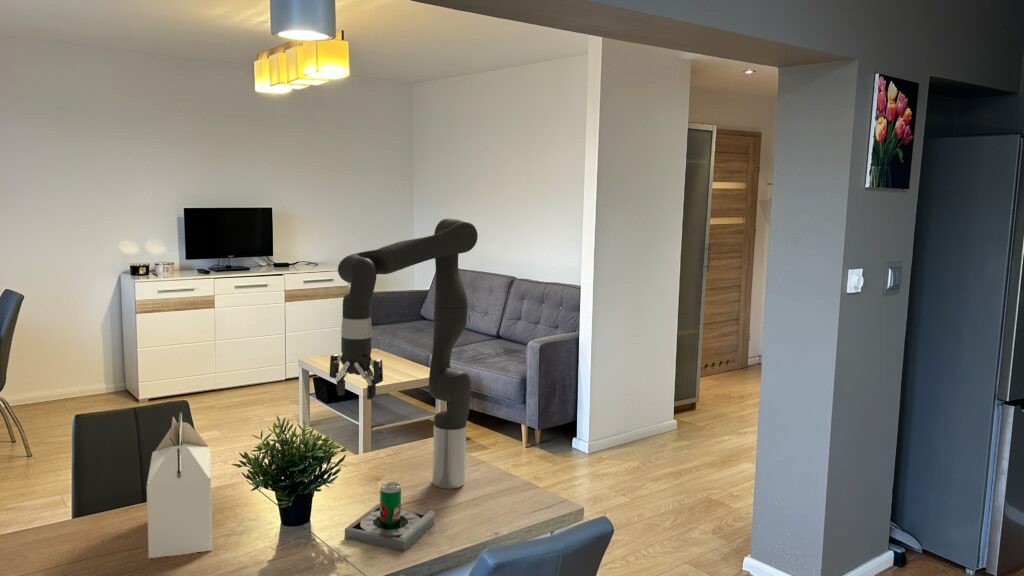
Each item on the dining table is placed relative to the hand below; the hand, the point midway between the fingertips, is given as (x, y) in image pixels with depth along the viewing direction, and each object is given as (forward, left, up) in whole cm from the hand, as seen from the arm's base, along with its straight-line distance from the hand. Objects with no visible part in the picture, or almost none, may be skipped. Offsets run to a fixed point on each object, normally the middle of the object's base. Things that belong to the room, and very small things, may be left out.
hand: (355, 396), depth 201 cm
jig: (+8, +15, -30) cm, 35 cm away
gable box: (+30, -29, -30) cm, 52 cm away
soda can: (+8, +15, -30) cm, 35 cm away
